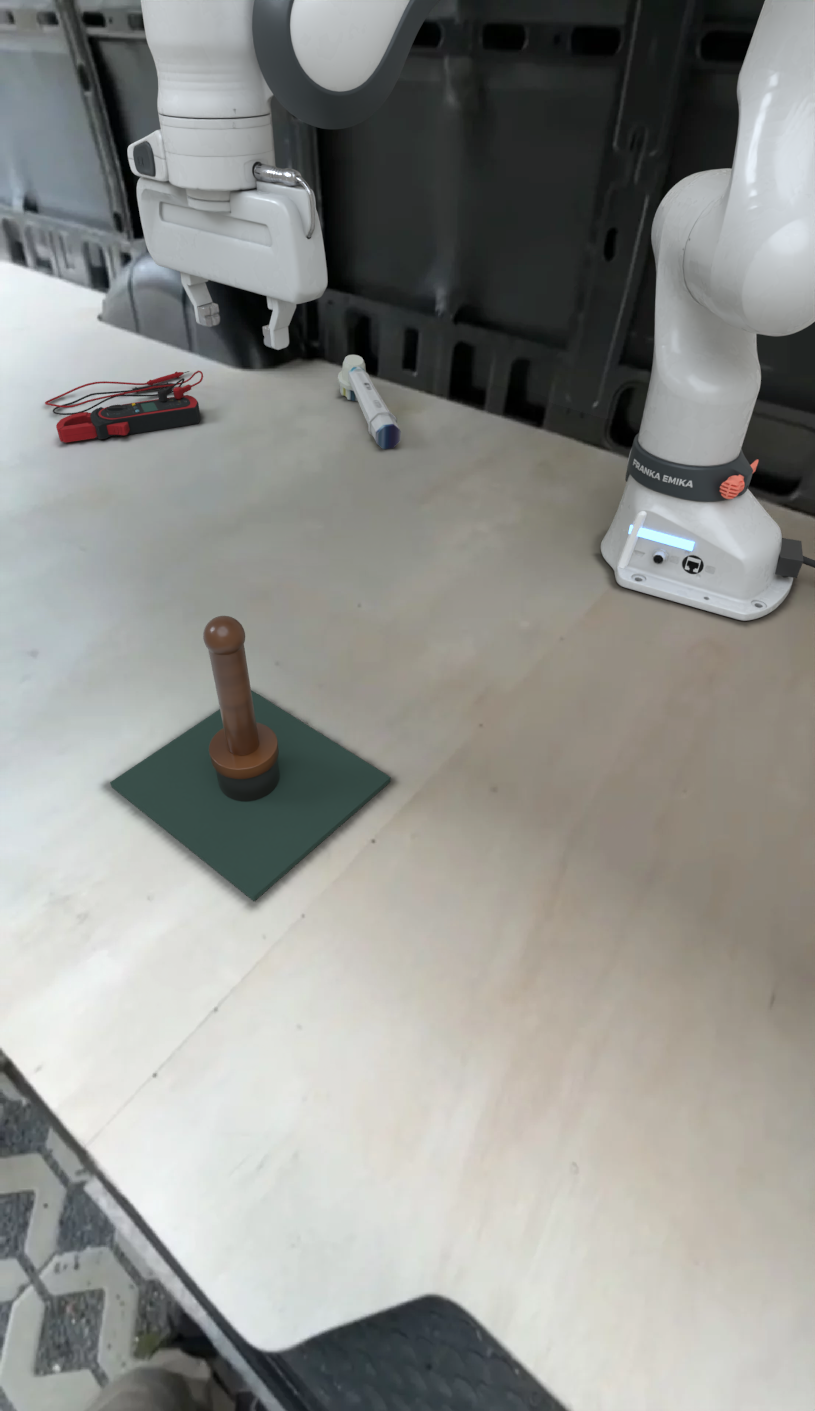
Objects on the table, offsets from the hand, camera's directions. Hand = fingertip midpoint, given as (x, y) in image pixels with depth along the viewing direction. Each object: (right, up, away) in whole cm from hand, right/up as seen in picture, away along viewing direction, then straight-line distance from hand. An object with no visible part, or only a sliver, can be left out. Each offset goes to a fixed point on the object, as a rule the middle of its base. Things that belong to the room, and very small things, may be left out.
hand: (241, 335), depth 74 cm
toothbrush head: (+9, +12, +54) cm, 56 cm away
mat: (+2, -41, -5) cm, 42 cm away
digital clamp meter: (-29, +14, +55) cm, 64 cm away
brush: (+2, -41, -6) cm, 41 cm away
